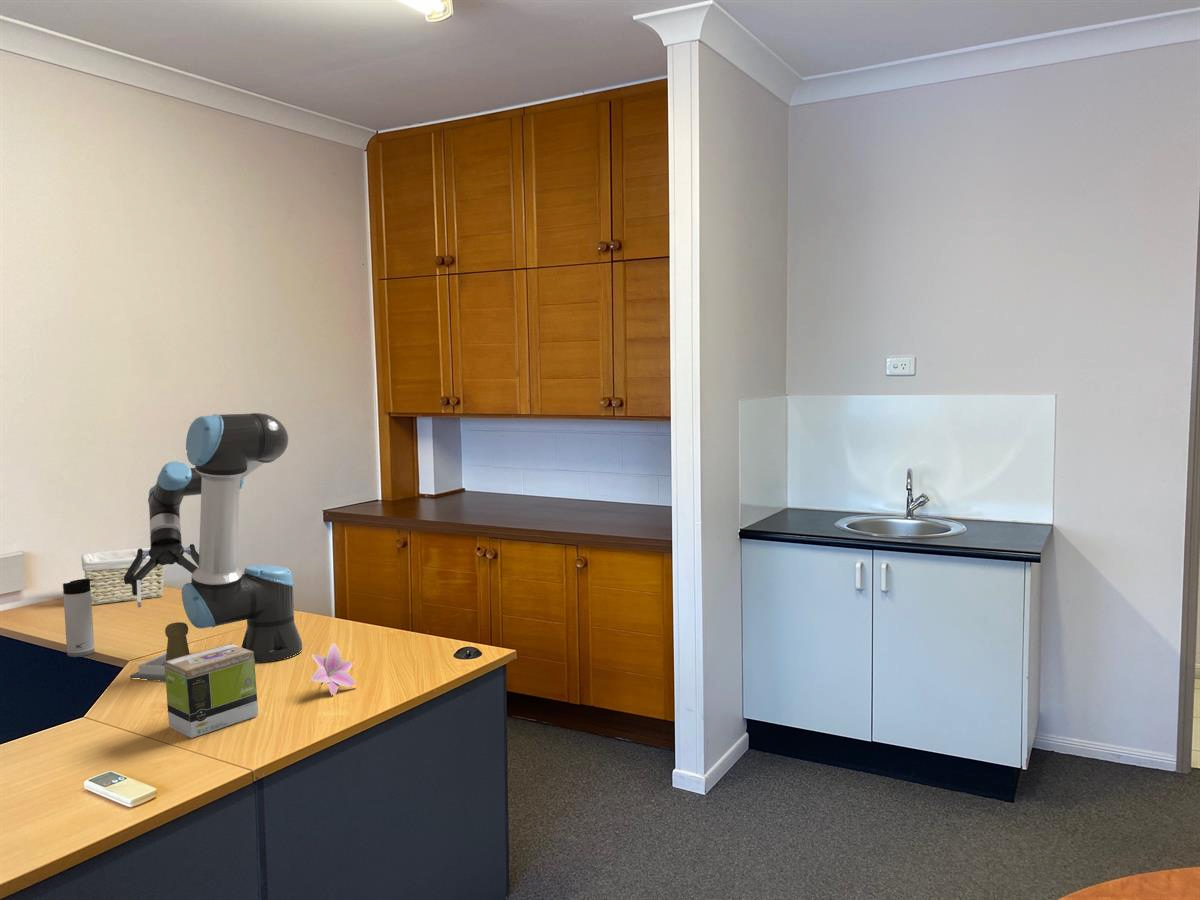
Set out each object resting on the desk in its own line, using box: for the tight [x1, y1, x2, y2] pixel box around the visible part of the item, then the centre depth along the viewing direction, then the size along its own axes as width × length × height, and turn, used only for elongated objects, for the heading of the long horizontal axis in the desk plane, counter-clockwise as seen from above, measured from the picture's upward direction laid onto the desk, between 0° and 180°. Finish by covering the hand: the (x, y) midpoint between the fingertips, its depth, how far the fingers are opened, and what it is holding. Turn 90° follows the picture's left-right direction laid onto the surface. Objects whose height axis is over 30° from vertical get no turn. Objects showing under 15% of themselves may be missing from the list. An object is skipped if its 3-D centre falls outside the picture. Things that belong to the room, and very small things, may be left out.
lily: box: [310, 642, 357, 696], centre depth 207 cm, size 12×12×10 cm
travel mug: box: [62, 578, 96, 658], centre depth 233 cm, size 6×7×20 cm
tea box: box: [165, 642, 259, 739], centre depth 188 cm, size 15×10×15 cm, turn 141°
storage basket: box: [81, 547, 166, 606], centre depth 291 cm, size 24×16×15 cm
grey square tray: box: [130, 651, 193, 682], centre depth 220 cm, size 13×13×3 cm
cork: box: [164, 621, 190, 661], centre depth 220 cm, size 6×6×11 cm
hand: (169, 601), depth 228 cm, fingers open, 13 cm apart
